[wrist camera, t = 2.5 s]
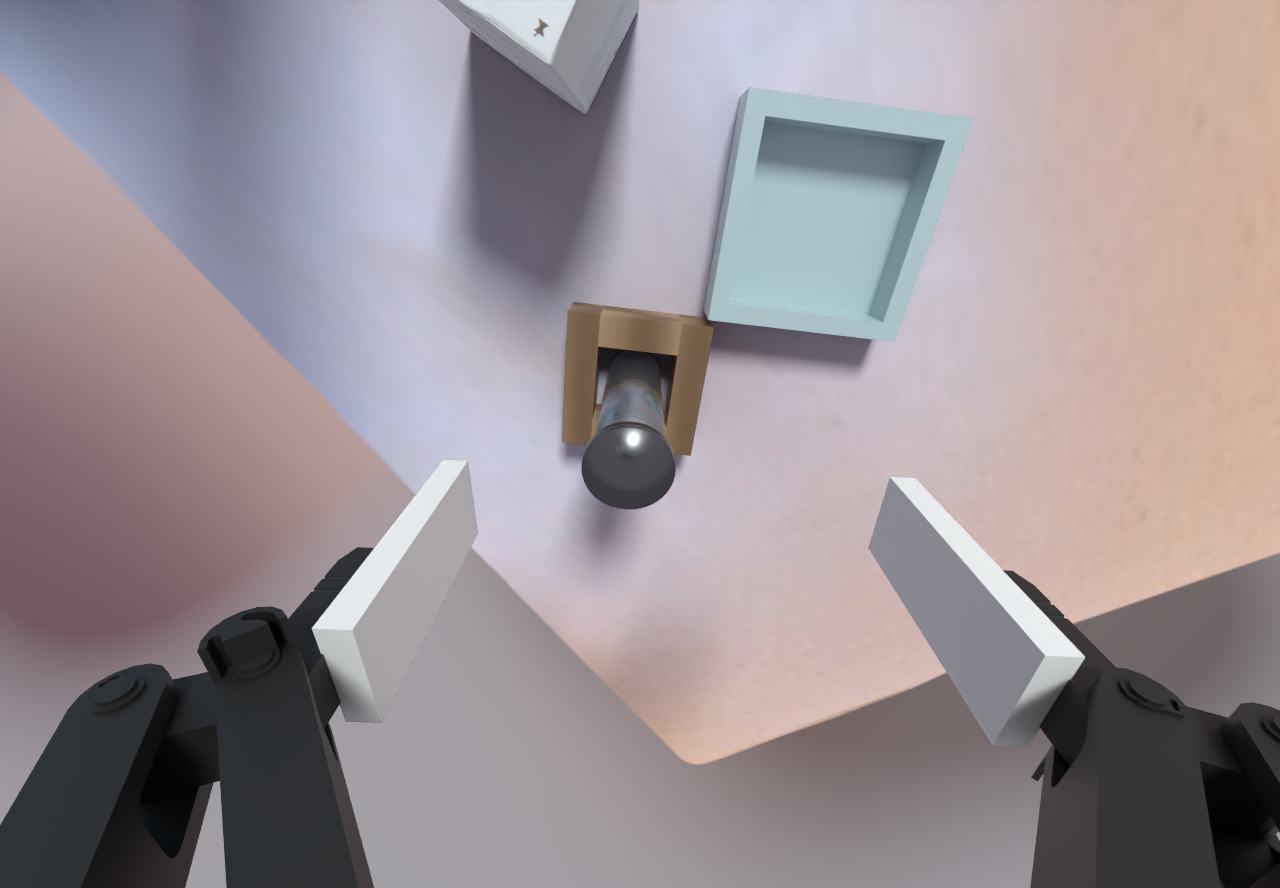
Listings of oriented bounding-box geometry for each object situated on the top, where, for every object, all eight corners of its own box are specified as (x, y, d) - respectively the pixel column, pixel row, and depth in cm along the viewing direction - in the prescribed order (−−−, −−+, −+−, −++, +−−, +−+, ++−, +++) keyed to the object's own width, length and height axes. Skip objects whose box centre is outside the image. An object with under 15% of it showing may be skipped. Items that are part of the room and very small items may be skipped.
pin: (601, 399, 39) (579, 504, 26) (606, 341, 37) (584, 423, 24) (660, 406, 39) (668, 513, 26) (669, 348, 37) (681, 433, 24)
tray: (703, 310, 36) (708, 319, 33) (740, 96, 30) (749, 87, 27) (876, 330, 36) (894, 342, 34) (945, 125, 30) (973, 118, 28)
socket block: (567, 425, 40) (561, 442, 38) (573, 302, 36) (568, 311, 33) (687, 438, 41) (690, 455, 38) (709, 318, 36) (714, 328, 33)
